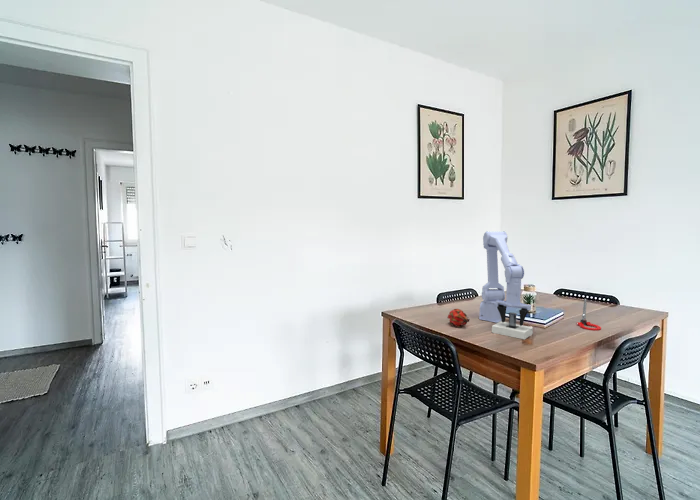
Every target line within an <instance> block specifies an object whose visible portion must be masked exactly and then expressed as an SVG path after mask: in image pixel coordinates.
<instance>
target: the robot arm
mask: <svg viewBox="0 0 700 500" xmlns="http://www.w3.org/2000/svg"><path fill="white" fill-rule="evenodd" d="M482 240H483V241H482V243H483V244H482V245H483V249H484V250H486V264H487V265H486V266H487V267H486V268H487V283H485V284H484V285H483V286H482V291H481V299H482V301H481V302H480V304H479V317H478V319H479V320H481V321H482V320H483V321H486V322H491V323H495V324H497V323H498V322H500V321H502V322H506V315H507V314H506V313H507V308H508V307H509V308H515V309H519V325H520V326H522V325H523V326H524V321H525V319H526V316H527V315H528V313H529V311H531V310H532V305H531V304H526V303H522V302H521V291H522V289H521V288H522V279H524V276H525V269H524V267H523V266H522V265H521V264H519V263H518V262H517V259H516V257H515V254H513V253H512V252H510V250H509V246H508V244H507V243H508V234H507V232H506V230H505V231H487V230H486V231H485V232H484V233H483V235H482ZM498 252H499V253H500V255H501V257H500V261H501V263H502V265H503V268H504V277H505V283H506V291H505V287H504V286H503V285H502V284H501V283H500V282H499V264H498V263H499V262H498V258H499V257H498Z"/></svg>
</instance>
